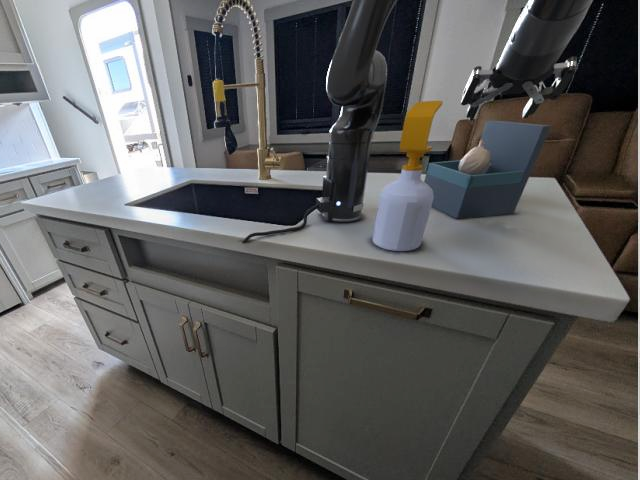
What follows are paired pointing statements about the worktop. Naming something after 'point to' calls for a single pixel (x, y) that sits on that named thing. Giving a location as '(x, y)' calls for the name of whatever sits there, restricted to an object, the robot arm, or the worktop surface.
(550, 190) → the worktop surface
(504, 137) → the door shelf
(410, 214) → the soap bottle
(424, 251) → the worktop surface
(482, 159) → the garlic bulb
